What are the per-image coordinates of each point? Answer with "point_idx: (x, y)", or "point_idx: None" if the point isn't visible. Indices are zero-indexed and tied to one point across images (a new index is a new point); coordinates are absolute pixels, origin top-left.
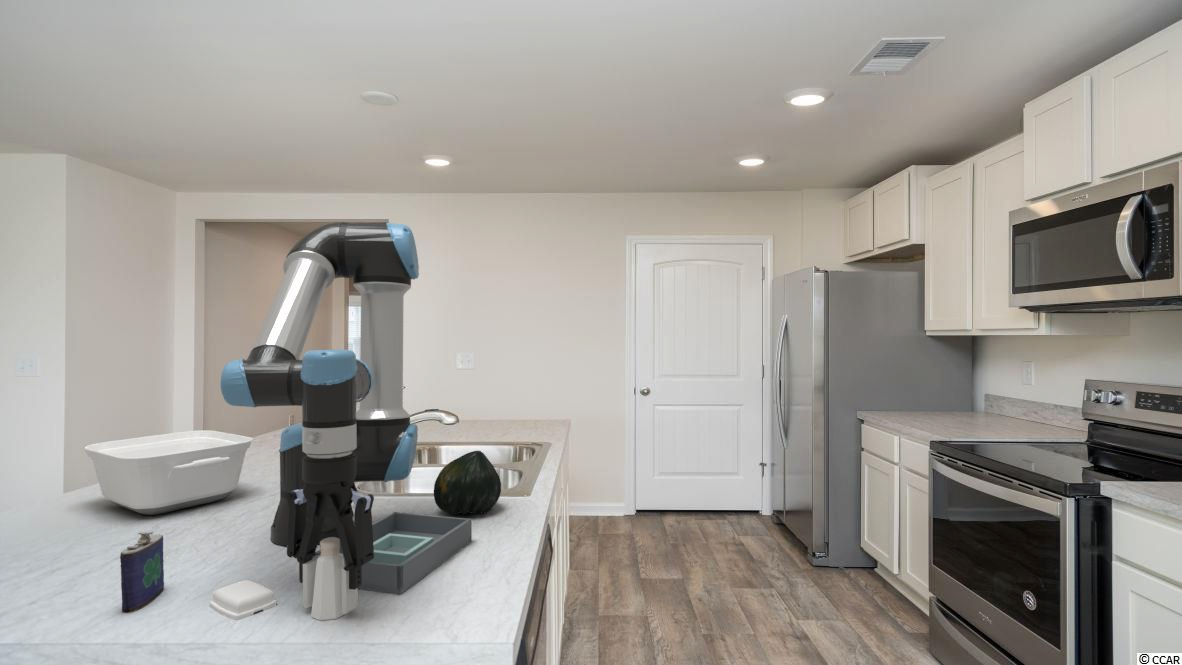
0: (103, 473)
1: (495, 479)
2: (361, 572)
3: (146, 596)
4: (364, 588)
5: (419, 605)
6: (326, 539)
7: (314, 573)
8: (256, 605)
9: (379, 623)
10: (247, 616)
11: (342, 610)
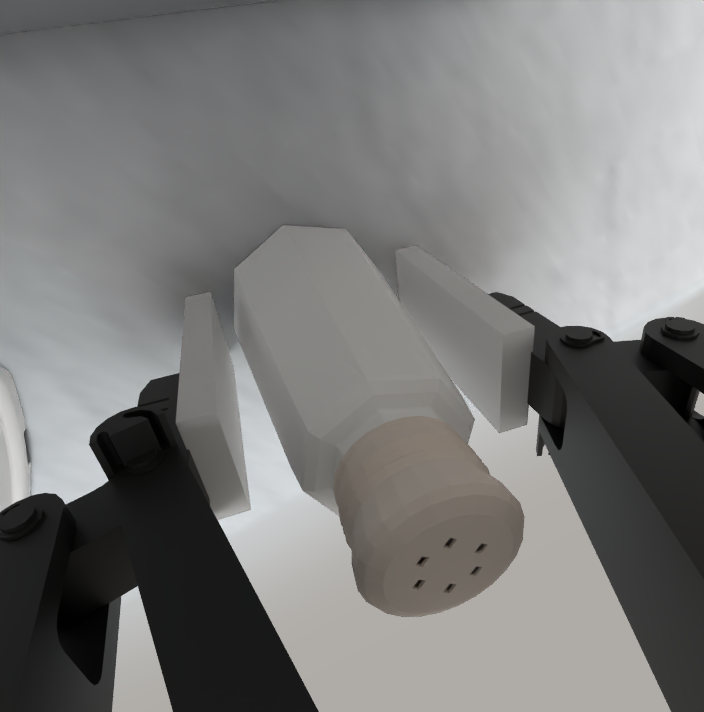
0: None
1: None
2: (547, 320)
3: None
4: (252, 1)
5: (620, 58)
6: (416, 582)
7: (226, 401)
8: (4, 467)
9: (537, 268)
10: (30, 481)
11: None
